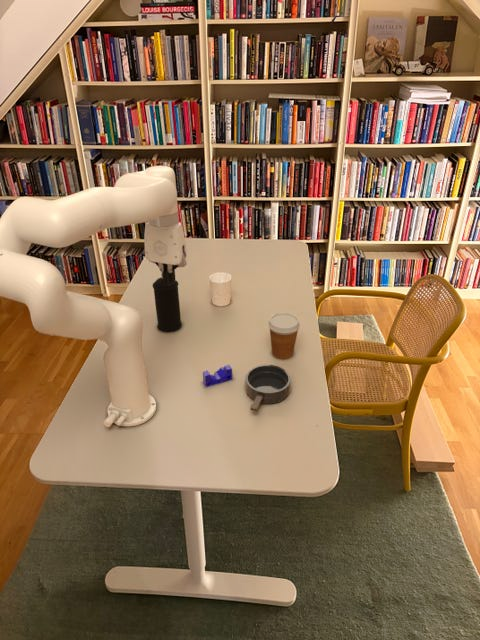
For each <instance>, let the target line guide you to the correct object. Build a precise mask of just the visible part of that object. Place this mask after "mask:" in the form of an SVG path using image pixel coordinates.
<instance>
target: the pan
mask: <svg viewBox="0 0 480 640" xmlns="http://www.w3.org/2000/svg"><path fill="white" fill-rule="evenodd" d="M291 379H292V378H291V375H290V374H289V372H288V371H287V370H286V369H285V368H283V367H280V366H278V365H275V364H261V365H257V366H254V367H252V368H250V370H248V371H247V373H246V374H245V392H246V395H247V396H248V397H249V398H250V399H251V400H253V401H254V400H255V398H256V396H257V394H262V395H264V398H263V400H262V402H261V404H266V405H267V404H270V405H272V404H276V403H280V402H282V401H284V400H285V399H287V397H289V395H290V392H291V384H292V383H291V382H292V381H291Z"/></svg>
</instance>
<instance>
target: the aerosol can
mask: <svg viewBox="0 0 480 640" xmlns="http://www.w3.org/2000/svg"><path fill="white" fill-rule="evenodd" d="M160 276H161V277H159V278H157V279H156V280H155V281H154V282H153V283H152V288H153V295H154V303H155V304H154V305H155V312H156V321H157V325H156V326H157V330H159V331H160V332H162V333H174V332H177V331H179V330H180V329H181V328H182V326H183V323H182V318H181V307H180V296H179V281H178V280H177V279H175V282H174V283H173V284H172V285H171V286H168V285H167V286H165V285H164V281H163V277H162V272H161V271H160Z"/></svg>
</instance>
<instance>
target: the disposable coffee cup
mask: <svg viewBox="0 0 480 640" xmlns="http://www.w3.org/2000/svg"><path fill="white" fill-rule="evenodd" d="M267 326H268V328H269V335H270V343H271V344H270V345H271V352H272V353H271V354H272V356H273V357H274V358H276V359H279V360H289V359H291V358H292V357H293V355H294V351H295V346H296V341H297V336H298V332H299V329H300V327H301V323H300V320H299V318H298V317H297V316H296V315H295V314H292V313H289V312H278V313H274V314H272V315H271V316H270V317H269V320H268V321H267Z"/></svg>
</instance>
